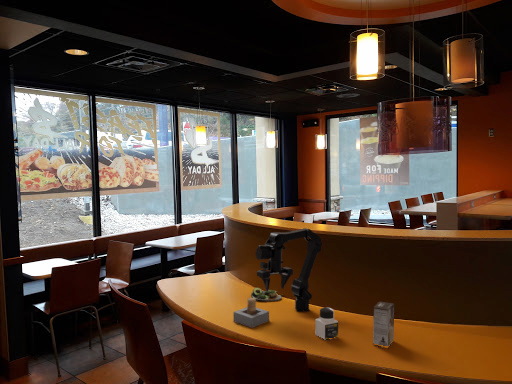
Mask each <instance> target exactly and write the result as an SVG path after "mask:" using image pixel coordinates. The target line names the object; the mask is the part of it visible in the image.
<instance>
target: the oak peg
mask: <svg viewBox="0 0 512 384" xmlns="http://www.w3.org/2000/svg"><path fill="white" fill-rule="evenodd" d="M256 302H257V301H256V299H255V298H252V297H248V298H247V301H246V304H247V305H246V307H247V314H249V315H254V314H256V308H257V307H256V305H257V303H256Z"/></svg>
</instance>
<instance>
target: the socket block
mask: <svg viewBox="0 0 512 384" xmlns="http://www.w3.org/2000/svg"><path fill="white" fill-rule="evenodd" d="M269 321H270V311H268V310H265V309H261V308H259V307H256V314H254V315H249V314H247V306H246V307H244V308H241V309H238V310H236V311H233V322H234V323H237V324H241V325H243V326H246V327H249V328H251V329H252V328H255V327H258V326H259V325H260V326H261V325H262V324H265V323H267V322H269Z"/></svg>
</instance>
